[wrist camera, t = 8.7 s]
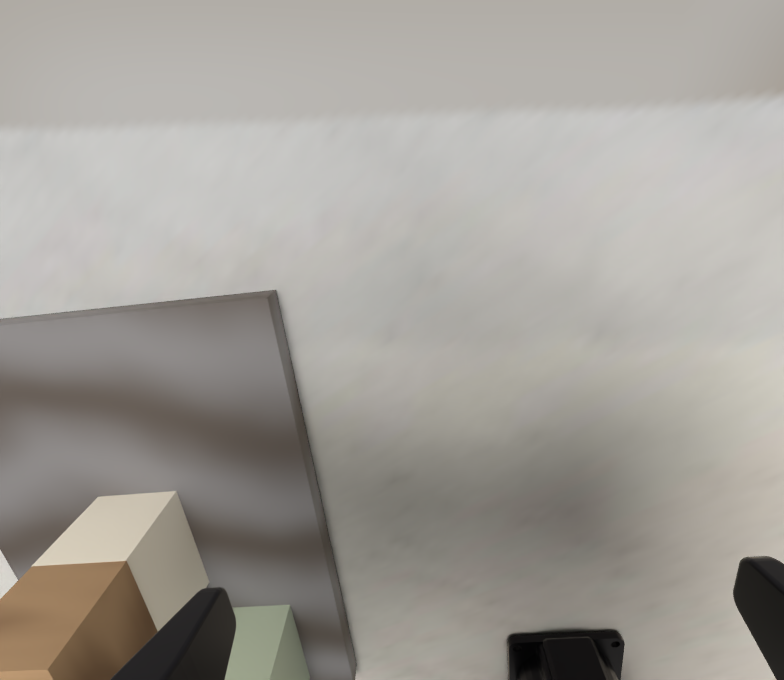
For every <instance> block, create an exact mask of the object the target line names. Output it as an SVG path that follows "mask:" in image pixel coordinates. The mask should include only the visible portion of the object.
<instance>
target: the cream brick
mask: <svg viewBox="0 0 784 680" xmlns="http://www.w3.org/2000/svg"><path fill="white" fill-rule="evenodd" d="M114 561H127V563H128V565H129V567H130V569H131V572H132V574H133V576H134V579H135V581H136V583H137V585H138V588H139V590H140V592H141V594H142V597H143V599H144V601H145V604H146V606H147V608H148V610H149V613H150V615H151V617H152V619H153V622H154V624H155V626H156V629H157V631H159V630H160V629H161V628H162V627H163V626H164V625H165V624H166V623H167V622H168V621H169V620H170V619H171V618H172V617H173V616H174V615H175V614H176V613H177V612H178V611H179V610H180V609H181V608H182V607H183V606H184V605H185V604H186V603H187V602H188V601H189V600H190V599H191V598H192V597H193V596H194V595H195V594H196V593H197V592H198V591H200V590H201V589H204V588H206V587H207V585H208V583H209V580H208V577H207V574H206V571H205V569H204V566H203V563H202V560H201V558H200V555H199V552H198V549H197V546H196V544H195V541H194V538H193V535H192V533H191V530H190V527H189V524H188V522H187V519H186V516H185V513H184V511H183V508H182V505H181V502H180V499H179V497H178V494H177V491H169V492H156V493H142V494H128V495H114V496H101V497H97V498H96V499H95V500H94V501H93V503H92V504H91V505H90V506H89V507H88V508H87V509H86V510H85V511H84V512H83V513H82V514H81V515H80V516H79V517H78V518H77V519H76V520H75V521H74V522H73V523H72V524H71V525H70V526H69V528H68V529H67V530H66V531H65V532H64V533H63V534H62V535H61V536H60V537H59V538H58V539H57V540H56V541H55V542H54V543H53V544H52V545H51V546H50V547H49V548H48V549H47V550H46V551H45V552H44V554H43V555H42V556H41V557H40V558H39V559H38V560H37V561H36V562H35V563H34V564H33V565H32V566H46V565H63V564H80V563H97V562H114ZM32 566H31V567H32Z"/></svg>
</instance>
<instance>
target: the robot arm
mask: <svg viewBox="0 0 784 680" xmlns="http://www.w3.org/2000/svg"><path fill="white" fill-rule="evenodd" d="M733 595H734V601H735V603H736V606H737V608H738V610H739V612H740V614H741V616H742V617H743V619H744V621H745V623H746V625H747V627H748V628H749V630H750V632H751V634H752V636H753V637H754V639H755V641H756V643H757V645H758V647H759V648H760V650H761V652H762V654H763V656H764V657H765V659H766V661H767V663H768V665H769V667H770V668H771V670H772V672H773V674H774V676H775V677H776V679H777V680H784V564H783V563H782V562H780V561H778V560H776V559H774V558H772V557H768V556H758V557H745V558H743V559H742V560H741V561H740V563H739V568H738V572H737V576H736V581H735V585H734V590H733ZM235 632H236V617H235V614H234V611H233V608H232V605H231V602H230V599H229V596H228V594H227V591H226V590H225V589H224V588H223V587H214V588H204V589H201V590H200V591H198V592H197V593H196V594H195V595H194V596H193V597H192V598H191V599H190V600H189V601H188V602H187V603H186V604H185V605H184V606H183V607H182V608H181V609H180V610H179V611H178V612H177V613H176V614H175V615H174V616H173V617H172V618H171V619H170V620H169V621H168V622H167V623H166V624H165V625H164V626H163V627H162V628H161V629H160V630H159V631H158V632H157V633H156V634H155V635H154V636H153V637H152V638H151V639H150V640H149V641H148V642H147V643H146V644H145V645H144V646H143V647H142V648H141V649H140V650H139V651H138V652H137V653H136V654H135V655H134V656H133V657H132V658H131V659H130V660H129V661H128V662H127V663H126V664H125V665H124V666H123V667H122V668H121V669H120V670H119V671H118V672H117V673H116V674H115V675H114V676H113V677H112V678H111V679H110V680H225V676H226V671H227V667H228V663H229V658H230V654H231V650H232V645H233V641H234V637H235ZM507 652H508V680H620V679H621V670H622V662H623V653H624V641H623V638H622V636H621V634H620V633H618V632H614V631H611V632H589V633H567V634H545V635H523V636H512V637H510V638H509V639H508V641H507Z"/></svg>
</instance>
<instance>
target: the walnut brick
mask: <svg viewBox="0 0 784 680" xmlns="http://www.w3.org/2000/svg"><path fill="white" fill-rule="evenodd" d="M157 632H158V631H157V629H156V626H155V624H154V622H153V619H152V617H151V615H150V613H149V610H148V608H147V606H146V604H145V601H144V599H143V597H142V594H141V592H140V590H139V588H138V585H137V583H136V581H135V579H134V576H133V574H132V572H131V569H130V567H129V565H128V563H127V561H114V562H97V563H80V564H63V565H46V566H32V567H31V568H30V569H29V570H28V571H27V572H26V573H25V574H24V575H23V576H22V577H21V578H20V579H19V580H18V581H17V583H16V584H15V585H14V586H13V587H12V588H11V589H10V590H9V591H8V592H7V593H6V594H5V595H4V596H3V597H2V598H1V599H0V680H110V679H111V678H112V677H113V676H114V675H115V674H116V673H117V672H118V671H119V670H120V669H121V668H122V667H123V666H124V665H125V664H126V663H127V662H128V661H129V660H130V659H131V658H132V657H133V656H134V655H135V654H136V653H137V652H138V651H139V650H140V649H141V648H142V647H143V646H144V645H145V644H146V643H147V642H148V641H149V640H150V639H151V638H152V637H153V636H154V635H155V634H156V633H157Z"/></svg>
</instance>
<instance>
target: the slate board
mask: <svg viewBox="0 0 784 680" xmlns="http://www.w3.org/2000/svg"><path fill="white" fill-rule="evenodd" d="M169 491H177V494H178V497H179V499H180V502H181V505H182V508H183V511H184V513H185V516H186V519H187V522H188V524H189V527H190V530H191V533H192V535H193V538H194V541H195V544H196V546H197V549H198V552H199V555H200V558H201V560H202V563H203V566H204V569H205V571H206V574H207V577H208V580H209V583H208V585H207V587H206V588H214V587H223V588H224V589H225V590H226V591H227V594H228V596H229V599H230V602H231V605H232V608H235V607H254V606H273V605H290V606H291V610H292V613H293V617H294V621H295V624H296V628H297V631H298V635H299V639H300V642H301V646H302V649H303V653H304V657H305V660H306V664H307V667H308V671H309V675H310V680H355V674H356V660H355V656H354V651H353V646H352V642H351V637H350V632H349V628H348V623H347V618H346V614H345V609H344V605H343V600H342V595H341V591H340V586H339V581H338V577H337V572H336V567H335V563H334V558H333V553H332V549H331V544H330V540H329V535H328V530H327V526H326V521H325V516H324V512H323V507H322V502H321V498H320V493H319V488H318V484H317V479H316V475H315V470H314V465H313V461H312V456H311V451H310V447H309V442H308V437H307V433H306V428H305V424H304V419H303V414H302V410H301V405H300V400H299V396H298V391H297V386H296V382H295V377H294V372H293V368H292V363H291V359H290V354H289V349H288V345H287V340H286V335H285V331H284V326H283V321H282V317H281V312H280V308H279V303H278V298H277V294H276V290H272V291H262V292H253V293H243V294H234V295H224V296H215V297H205V298H196V299H186V300H177V301H167V302H158V303H148V304H139V305H129V306H120V307H110V308H101V309H91V310H82V311H72V312H63V313H53V314H44V315H34V316H25V317H15V318H6V319H0V549H1V551H2V553H3V555H4V556H5V558H6V560H7V562H8V563H9V565H10V567H11V569H12V570H13V572H14V574H15V575H16V577H17V579H18V580H19V579H20V578H21V577H22V576H23V575H24V574H25V573H26V572H27V571H28V570H29V569H30V568H31V566H32V565H33V564H34V563H35V562H36V561H37V560H38V559H39V558H40V557H41V556H42V555H43V554H44V552H45V551H46V550H47V549H48V548H49V547H50V546H51V545H52V544H53V543H54V542H55V541H56V540H57V539H58V538H59V537H60V536H61V535H62V534H63V533H64V532H65V531H66V530H67V529H68V528H69V526H70V525H71V524H72V523H73V522H74V521H75V520H76V519H77V518H78V517H79V516H80V515H81V514H82V513H83V512H84V511H85V510H86V509H87V508H88V507H89V506H90V505H91V504H92V503H93V501H94V500H95V499H96V498H97V497H101V496H114V495H128V494H142V493H156V492H169Z"/></svg>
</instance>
